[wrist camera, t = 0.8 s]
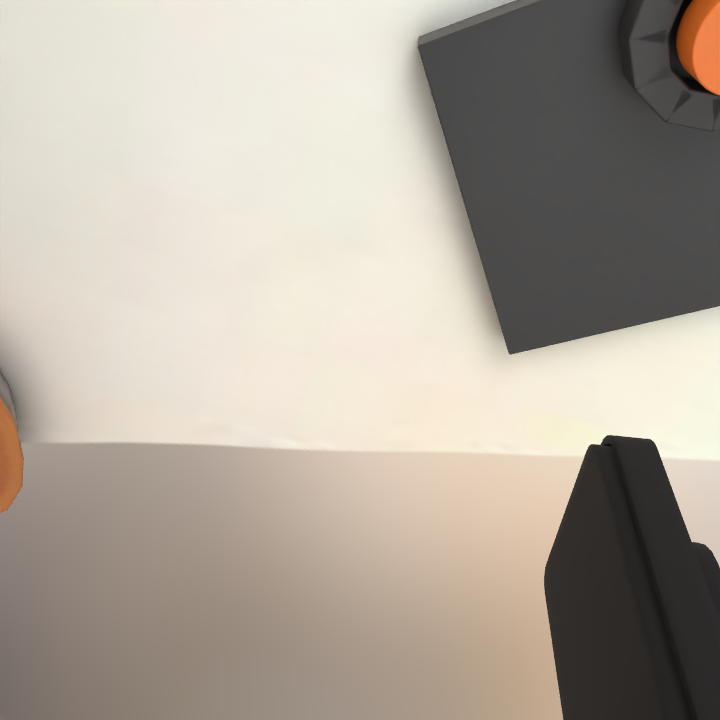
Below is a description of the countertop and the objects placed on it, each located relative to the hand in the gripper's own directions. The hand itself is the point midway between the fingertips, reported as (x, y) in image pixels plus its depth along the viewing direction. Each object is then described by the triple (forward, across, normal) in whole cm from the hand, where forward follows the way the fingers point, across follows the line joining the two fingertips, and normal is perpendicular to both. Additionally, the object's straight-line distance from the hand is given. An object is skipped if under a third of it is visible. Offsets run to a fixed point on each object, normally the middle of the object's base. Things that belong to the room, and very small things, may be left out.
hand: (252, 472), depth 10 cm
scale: (+20, -10, +2) cm, 23 cm away
